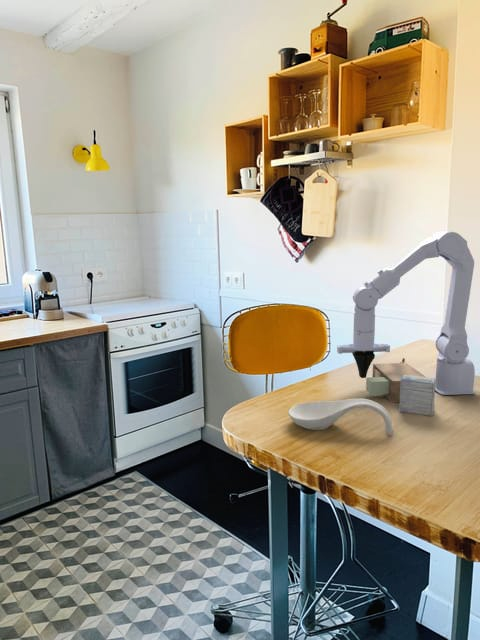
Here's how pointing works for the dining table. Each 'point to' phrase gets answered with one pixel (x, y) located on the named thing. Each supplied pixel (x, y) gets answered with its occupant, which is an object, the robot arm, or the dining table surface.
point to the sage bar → (377, 385)
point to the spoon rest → (333, 413)
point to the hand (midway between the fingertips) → (362, 376)
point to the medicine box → (417, 395)
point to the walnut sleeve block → (395, 377)
